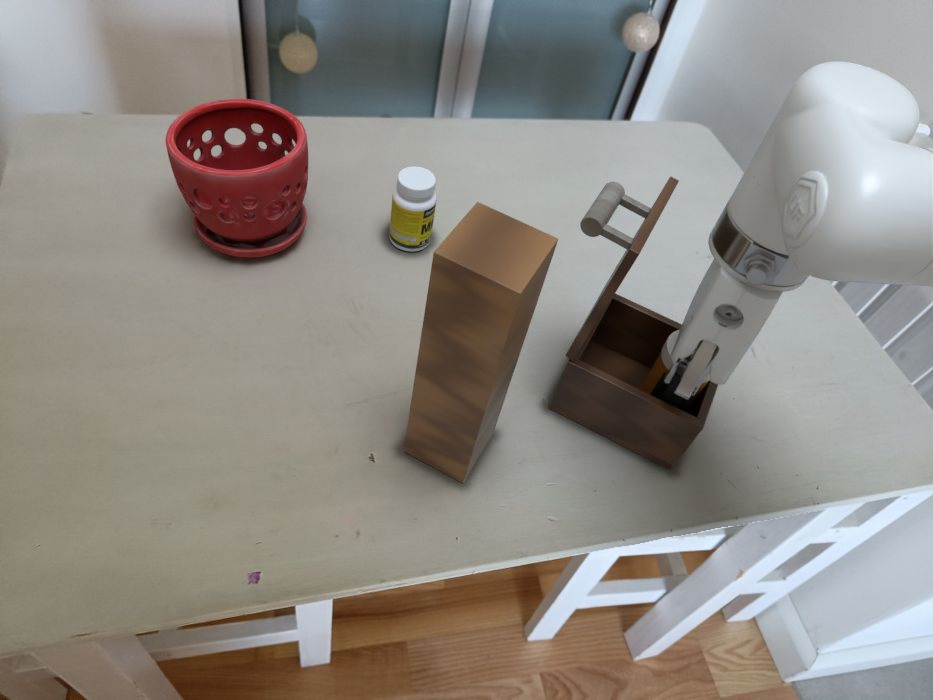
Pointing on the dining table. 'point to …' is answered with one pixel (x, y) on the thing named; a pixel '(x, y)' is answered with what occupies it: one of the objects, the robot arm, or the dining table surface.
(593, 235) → the lid
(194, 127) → the flower pot
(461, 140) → the dining table surface
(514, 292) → the stand
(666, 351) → the pill bottle
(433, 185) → the supplement bottle
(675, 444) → the chest
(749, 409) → the dining table surface
